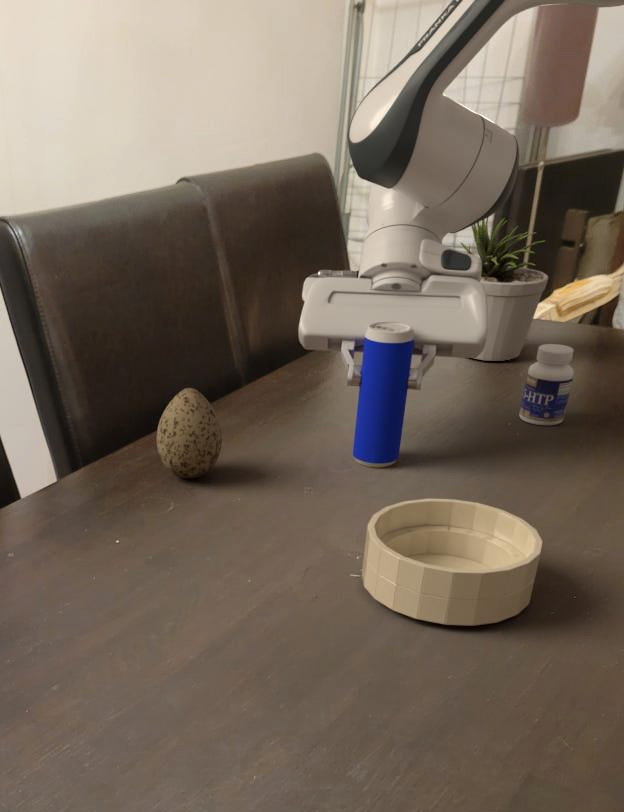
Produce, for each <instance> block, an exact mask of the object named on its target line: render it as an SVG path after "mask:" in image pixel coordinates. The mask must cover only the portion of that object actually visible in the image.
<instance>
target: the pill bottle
mask: <svg viewBox="0 0 624 812" xmlns="http://www.w3.org/2000/svg"><path fill="white" fill-rule="evenodd" d="M573 354H574V348H572V347H571V346H569V345H564V344H558V343H546V344H541V345H539V346H538V348H537V353H536V358H535V359H536V361H537V362H534V363H532V364H531V365H530V366H529V367H528V370H527V374H526V379H525V384H524V388H523V393H522V398H521V403H520V408H519V412H518V414H519V415H518V416H519V418H520V420H522V421H523V422H525V423H528V424H532V425H537V426H555V425H559V424H561V423H562V422H563V421H564V419H565V414H566V410H567V406H568V401H569V397H570V393H571V389H572V385H573V380H574V377H575V372H574V369H573V367H572V366H570V365H569V364H570V363H571V362H572V360H573V356H574V355H573Z"/></svg>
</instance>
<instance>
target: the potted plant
mask: <svg viewBox="0 0 624 812" xmlns="http://www.w3.org/2000/svg"><path fill="white" fill-rule="evenodd" d="M505 219H506V217H504V218H502V219H500V222H498V224H496V227H495V228H494V230H493V233H492V235H491V239H490V236H489V227H488V222H489V217H488V218H486V219H484V220H482V221H481V224H480V222H478V223H476V224H474V225H472V226H471V231H472V234H473V238H474V242H475V247H476V250H477V251H476V252H477V254H478V257H479V258H480V259H481V261H482V272H481V279H480V283H481V284H482V285H483V286H484V288H485V291H486V294H487V302H488V332H487V339H486V344H485V347H484V350H483V351H482V352H481V353H480V354H479V355H478V356H477V357H476V358H475V359H480V360H489V361H490V360H492V361H501V360H502V361H503V360H509V361H511V360H510V359H513V358H515V359H517V358H518V357H519V356H520V355H521V353H522V350H523V347H524V344H525V343H526V339H527V336H528V333H529V331H530V328H531V325H532V322H533V319H534V317H535V314H536V311H537V309H538V307H539V303H540V300H541V297H542V295H543V293H544V291H545V290H546V287H547V284H548V280H549V275H548V274H547V273H545V272H543V271H540V270H538V269H537V270H536V269H533V268H529V267H525V266H529V265H531V266H536V264H534V263H533V262H526V261H524V262H522V263H520V264H518V265H517V264H516V263H515V262H514V260H515V259H517V260H519V257H518V256H519V255H520V254H522V253H529V254H536V252H534V251H532V250H529V248H531V247H533V246H535V245H538V244H540V243H544V242H545V240H540V241H534V242H532V243H530V244H528V245H525V246H523V247H522V248H520V249H519V250H515V251H513V252H511V253H509V251H510V250H511V249H512V248H513V247H515V245H516V244H518V243H519V242H521V241H522V240H523V239H525V238H528V237H529V236H532V235H534V234H537V232H531V233H530V230H528V231H526V232H524V233H519V234H517V235H514V236H512V235H513V233H514V232H515V231H516V229H517V228H518V227H519V225H517V226H516V227H515V228H513V230H512V231H511V232H510V233H509V234H508V235H506V236H504V237H503V238H502V239H500V241H499V242H498V243H497V244H496V241H497V235H498V233H499V231H500V230H501V228H502V227H503V226H504V225H505V224H506V222H507V221H508V219H506V220H505ZM476 225H477V227H476ZM511 240H514V241H512V242H511V243H509V242H510V241H511ZM508 244H509V245H508ZM460 245H461V246H462V248H464V250H465V252H466V253H469V254H472V255H474V254H473V253H472V252H471V251H470V250H471V245H469V246H468V247H467V246H466V245H465V244H464V243H463V242H460ZM516 357H517V358H516ZM513 360H514V359H513Z"/></svg>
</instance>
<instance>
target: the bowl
mask: <svg viewBox="0 0 624 812" xmlns="http://www.w3.org/2000/svg"><path fill="white" fill-rule="evenodd" d="M370 518H371V519H370V520H369V521H368V522H367V526H366V535H365V543H364V552H363V560H362V570H361V579H362V583H363V587H364V588H365V590H366V591H367V592H368V593H369V594H370V595H371V596H372V598H373V599H374V600H376V601H377V602H379V603H380V604H382V605H384V606H385V607H387V608H388V609H390V610H391V611H392V612H393V611H394V612H395V613H398V614H402V615H404V616H407V617H410V618H412V619H414V620H420V621H424V622H429V623H434V624H441V625H445V626H472V627H473V626H480V625H488V624H496V623H500V622H503V621H505V620H507V619H510V618H512V617H515V616H517V615H519V614H520V613H521V612H523V610H524V609H525V608H526V607H528V606H529V605H530V601H531V598H532V592H533V588H534V584H535V579H536V576H537V571H538V567H539V562H540V558H541V553H542V550H543V549H542V548H543V544H544V543H543V539H542V538H541V536H540V534H539V532H538V530H537V529H536V528H535V527H534V526H532V525H531V524H529V523H528V522H527V521H526V520H524V519H523V518H521V517H519V516H517V515H515V514H513V513H511V512H509V511H506V510H504V509H501V508H497V507H495V506H490V505H487V504H483V503H480V502H474V501H468V500H461V499H453V498H421V499H411V500H405V501H400V502H397V503H394V504H390V505H386V506H385V507H383V508H382V509H380V510H379V511H377V512H376V513H375V512H374V514H373V515H372V516H371V517H370Z"/></svg>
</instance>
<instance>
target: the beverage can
mask: <svg viewBox="0 0 624 812" xmlns="http://www.w3.org/2000/svg"><path fill="white" fill-rule="evenodd" d="M413 344H414V333H413V328H412V327H411V326H410V325H408V324H404V323H399V322H378V323H374V324H371V325H369V327H368V329H367V332H366V334H365V340H364V349H363V353H362V361H361V366H362V369H361V371H362V372H361V383H360V386H359V387H358V388H359V389H358V398H357V408H356V419H355V420H356V421H355V428H354V436H353V447H352V457H353V458H354V460H355V461H356V462H357V463H358V464H359V465H361V466H365V467H368V468H387V467H390V466H392V465H395V463H396V462H397V461H398V459H399V458H400V450H401V443H402V435H403V428H404V419H405V411H406V404H407V398H408V397H407V396H408V390H409V389H407V387H408V386H407V383H408V377H409V373H410V368H412V367H411V366H412V359H413V355H412V352H413Z"/></svg>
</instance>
